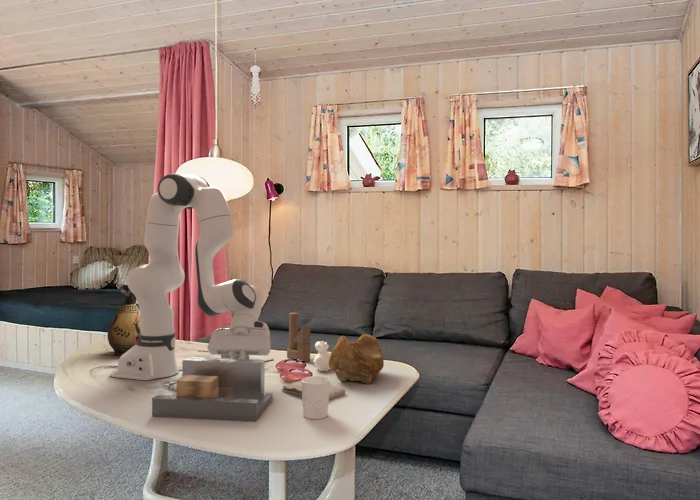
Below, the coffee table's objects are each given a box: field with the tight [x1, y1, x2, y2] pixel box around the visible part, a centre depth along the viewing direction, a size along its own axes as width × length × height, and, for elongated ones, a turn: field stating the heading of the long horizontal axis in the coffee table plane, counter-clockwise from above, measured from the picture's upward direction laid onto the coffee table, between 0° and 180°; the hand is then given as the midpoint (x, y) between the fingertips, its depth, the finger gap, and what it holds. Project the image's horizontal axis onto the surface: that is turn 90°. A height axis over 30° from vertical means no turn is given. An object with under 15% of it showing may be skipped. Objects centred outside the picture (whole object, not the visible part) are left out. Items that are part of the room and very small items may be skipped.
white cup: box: [301, 375, 331, 420], centre depth 152 cm, size 8×8×10 cm
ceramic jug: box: [106, 284, 141, 357], centre depth 223 cm, size 17×15×30 cm
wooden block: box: [286, 312, 311, 363], centre depth 216 cm, size 4×11×18 cm, turn 42°
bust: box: [312, 340, 333, 372], centre depth 203 cm, size 12×8×11 cm
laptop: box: [220, 325, 274, 363], centre depth 216 cm, size 18×12×13 cm
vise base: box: [151, 391, 274, 422], centre depth 158 cm, size 29×19×5 cm, turn 84°
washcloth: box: [281, 379, 346, 401], centre depth 173 cm, size 12×18×3 cm, turn 53°
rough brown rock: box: [329, 333, 385, 385], centre depth 189 cm, size 23×17×15 cm
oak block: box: [176, 375, 218, 398], centre depth 156 cm, size 10×6×9 cm, turn 84°
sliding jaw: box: [181, 356, 266, 401], centre depth 165 cm, size 24×4×12 cm, turn 84°
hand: (235, 365), depth 174 cm, fingers closed
